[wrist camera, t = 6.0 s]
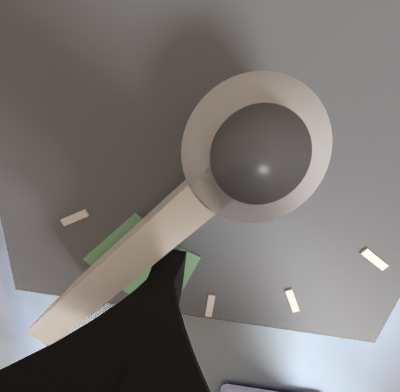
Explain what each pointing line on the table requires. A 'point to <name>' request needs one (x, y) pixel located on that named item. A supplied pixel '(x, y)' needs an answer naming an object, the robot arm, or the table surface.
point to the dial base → (172, 140)
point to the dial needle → (215, 183)
